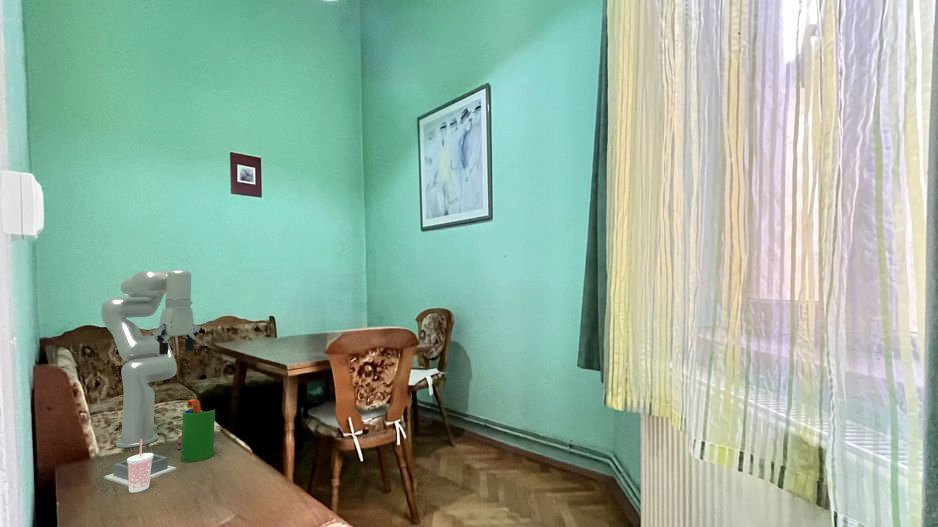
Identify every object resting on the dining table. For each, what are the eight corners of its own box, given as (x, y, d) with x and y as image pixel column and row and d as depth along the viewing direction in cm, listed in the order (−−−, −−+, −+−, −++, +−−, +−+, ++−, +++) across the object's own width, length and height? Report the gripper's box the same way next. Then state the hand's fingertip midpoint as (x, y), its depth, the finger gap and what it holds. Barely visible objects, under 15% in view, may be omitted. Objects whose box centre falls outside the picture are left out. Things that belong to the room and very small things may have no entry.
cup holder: (103, 478, 128) (104, 465, 128) (150, 462, 139) (151, 450, 140) (129, 486, 122) (130, 472, 122) (176, 469, 134) (176, 456, 134)
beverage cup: (141, 493, 117) (143, 442, 118) (119, 493, 118) (122, 443, 119) (157, 483, 124) (159, 435, 125) (137, 483, 124) (139, 435, 125)
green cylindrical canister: (219, 452, 148) (221, 395, 149) (201, 462, 139) (203, 401, 140) (193, 451, 149) (195, 394, 150) (173, 461, 140) (175, 401, 141)
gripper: (191, 304, 160) (190, 349, 158) (146, 305, 143) (144, 355, 142) (207, 303, 158) (206, 349, 156) (162, 304, 141) (161, 355, 140)
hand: (176, 352), depth 149 cm, fingers open, 9 cm apart
